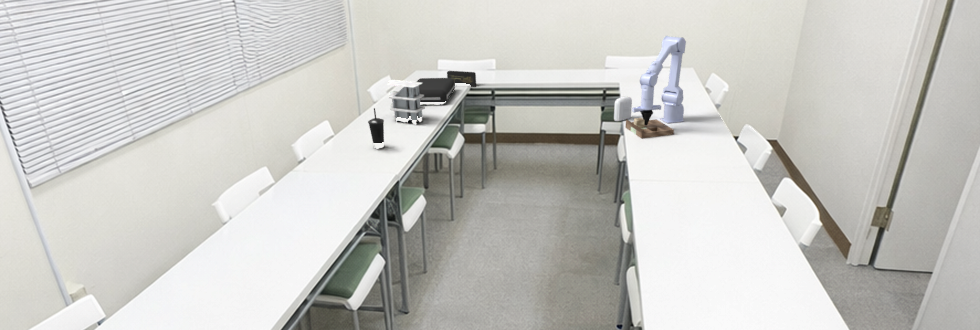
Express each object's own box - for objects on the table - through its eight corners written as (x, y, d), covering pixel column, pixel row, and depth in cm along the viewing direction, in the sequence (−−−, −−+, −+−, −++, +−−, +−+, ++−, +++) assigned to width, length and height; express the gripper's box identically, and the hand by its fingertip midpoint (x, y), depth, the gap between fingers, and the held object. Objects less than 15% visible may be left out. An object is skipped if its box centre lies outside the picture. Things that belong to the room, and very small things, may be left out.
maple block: (641, 125, 287) (641, 117, 286) (644, 127, 284) (644, 120, 282) (633, 125, 287) (634, 118, 286) (636, 128, 283) (636, 120, 282)
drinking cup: (389, 145, 284) (385, 106, 276) (382, 150, 277) (377, 110, 270) (376, 144, 286) (371, 105, 279) (368, 149, 280) (363, 110, 272)
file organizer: (421, 131, 303) (418, 91, 295) (366, 125, 317) (361, 87, 309) (444, 117, 325) (441, 79, 317) (391, 112, 339) (387, 76, 331)
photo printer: (626, 116, 310) (627, 94, 306) (632, 118, 307) (633, 95, 303) (612, 120, 305) (613, 97, 301) (618, 122, 302) (619, 99, 297)
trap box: (656, 123, 296) (656, 116, 295) (673, 134, 280) (674, 126, 278) (625, 127, 293) (625, 120, 292) (641, 138, 277) (641, 130, 275)
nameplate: (447, 85, 395) (446, 71, 391) (449, 84, 396) (448, 70, 392) (475, 87, 386) (474, 72, 382) (476, 86, 388) (475, 72, 384)
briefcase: (409, 92, 383) (408, 77, 379) (456, 91, 379) (455, 76, 376) (395, 107, 350) (394, 91, 346) (446, 106, 346) (445, 90, 342)
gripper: (657, 94, 285) (655, 120, 290) (630, 97, 282) (628, 123, 287) (664, 98, 278) (662, 124, 283) (636, 101, 276) (635, 128, 281)
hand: (645, 124), depth 285 cm, fingers closed
